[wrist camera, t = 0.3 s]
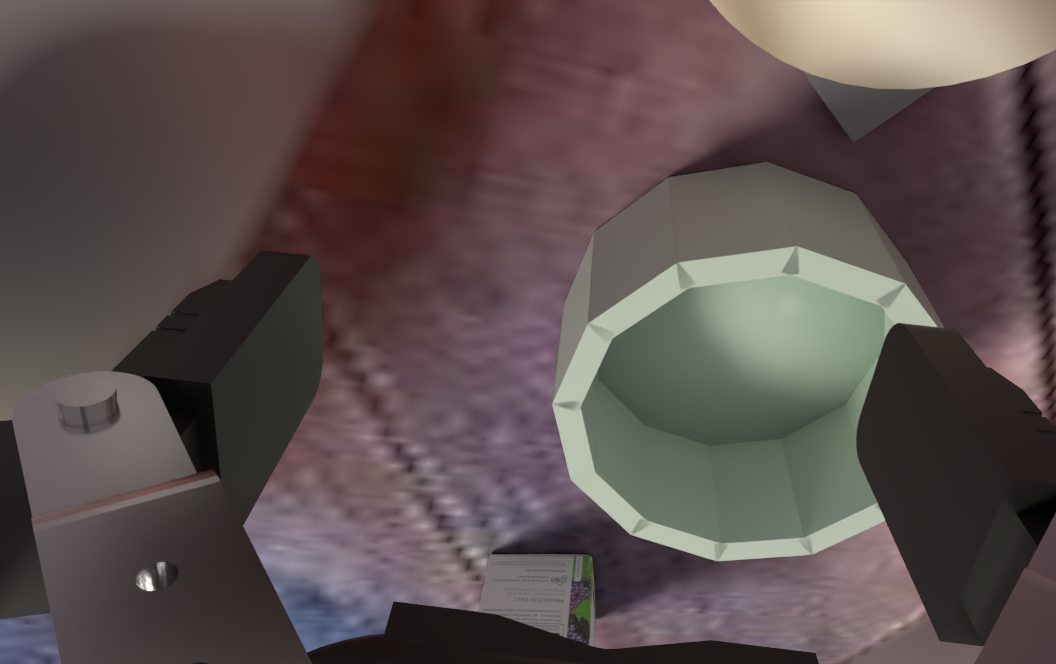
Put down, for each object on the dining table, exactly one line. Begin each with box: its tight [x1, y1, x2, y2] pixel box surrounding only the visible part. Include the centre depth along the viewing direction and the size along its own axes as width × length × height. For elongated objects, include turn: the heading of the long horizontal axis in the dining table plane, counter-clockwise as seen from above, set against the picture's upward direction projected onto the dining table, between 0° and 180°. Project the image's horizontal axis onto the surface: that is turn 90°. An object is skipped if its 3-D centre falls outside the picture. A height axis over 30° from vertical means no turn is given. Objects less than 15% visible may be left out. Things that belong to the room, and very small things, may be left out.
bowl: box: [552, 162, 944, 561], centre depth 34 cm, size 14×14×7 cm
